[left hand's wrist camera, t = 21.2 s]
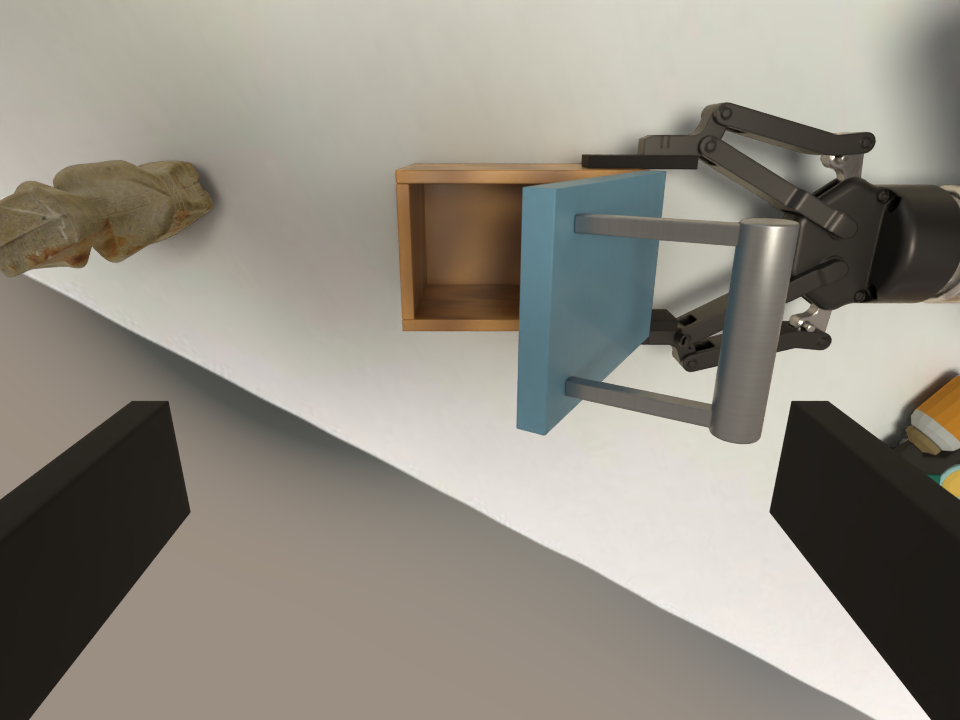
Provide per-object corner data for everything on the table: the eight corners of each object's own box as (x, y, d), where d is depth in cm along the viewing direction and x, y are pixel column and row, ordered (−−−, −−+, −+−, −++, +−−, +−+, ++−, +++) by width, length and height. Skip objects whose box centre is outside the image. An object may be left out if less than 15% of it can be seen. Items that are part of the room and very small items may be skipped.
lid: (516, 428, 24) (747, 489, 20) (521, 187, 21) (800, 198, 17) (628, 333, 36) (787, 358, 32) (643, 170, 33) (822, 175, 29)
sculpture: (109, 176, 43) (-69, 194, 29) (198, 142, 42) (58, 144, 28) (150, 252, 45) (1, 303, 31) (235, 221, 44) (122, 259, 30)
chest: (418, 291, 46) (402, 331, 37) (413, 163, 43) (395, 169, 33) (602, 291, 46) (635, 331, 37) (612, 163, 43) (651, 170, 33)
